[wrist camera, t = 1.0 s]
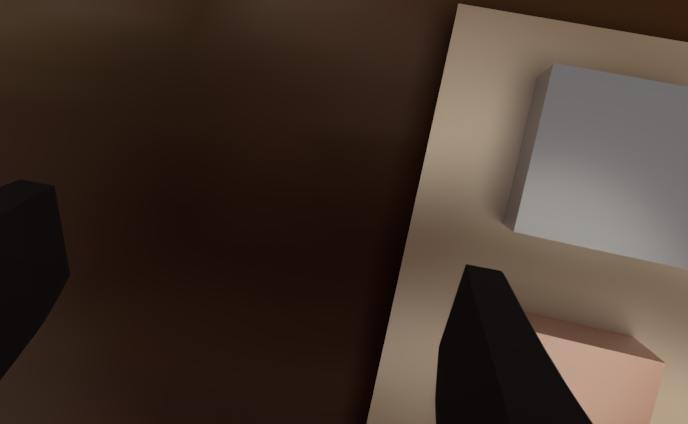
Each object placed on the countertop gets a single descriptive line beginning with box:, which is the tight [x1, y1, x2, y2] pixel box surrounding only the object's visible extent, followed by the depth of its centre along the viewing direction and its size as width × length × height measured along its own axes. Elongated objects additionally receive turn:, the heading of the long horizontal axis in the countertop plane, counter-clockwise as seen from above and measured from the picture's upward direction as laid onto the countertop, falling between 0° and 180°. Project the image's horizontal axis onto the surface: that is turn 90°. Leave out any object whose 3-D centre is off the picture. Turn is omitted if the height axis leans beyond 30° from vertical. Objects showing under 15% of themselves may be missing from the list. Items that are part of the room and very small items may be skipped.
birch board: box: [367, 4, 688, 424], centre depth 19 cm, size 16×10×2 cm, turn 168°
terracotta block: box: [525, 312, 666, 424], centre depth 17 cm, size 4×4×2 cm
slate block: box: [503, 63, 688, 270], centre depth 17 cm, size 4×4×2 cm
